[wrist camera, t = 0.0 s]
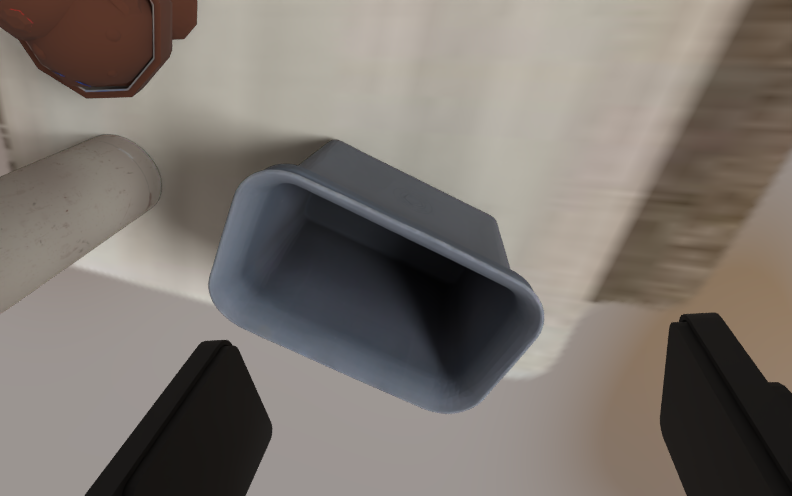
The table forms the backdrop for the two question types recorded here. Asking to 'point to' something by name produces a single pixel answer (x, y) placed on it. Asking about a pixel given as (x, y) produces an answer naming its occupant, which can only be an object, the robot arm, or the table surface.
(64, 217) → the thermos bottle
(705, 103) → the table surface
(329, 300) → the storage bin
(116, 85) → the ice cream bowl
